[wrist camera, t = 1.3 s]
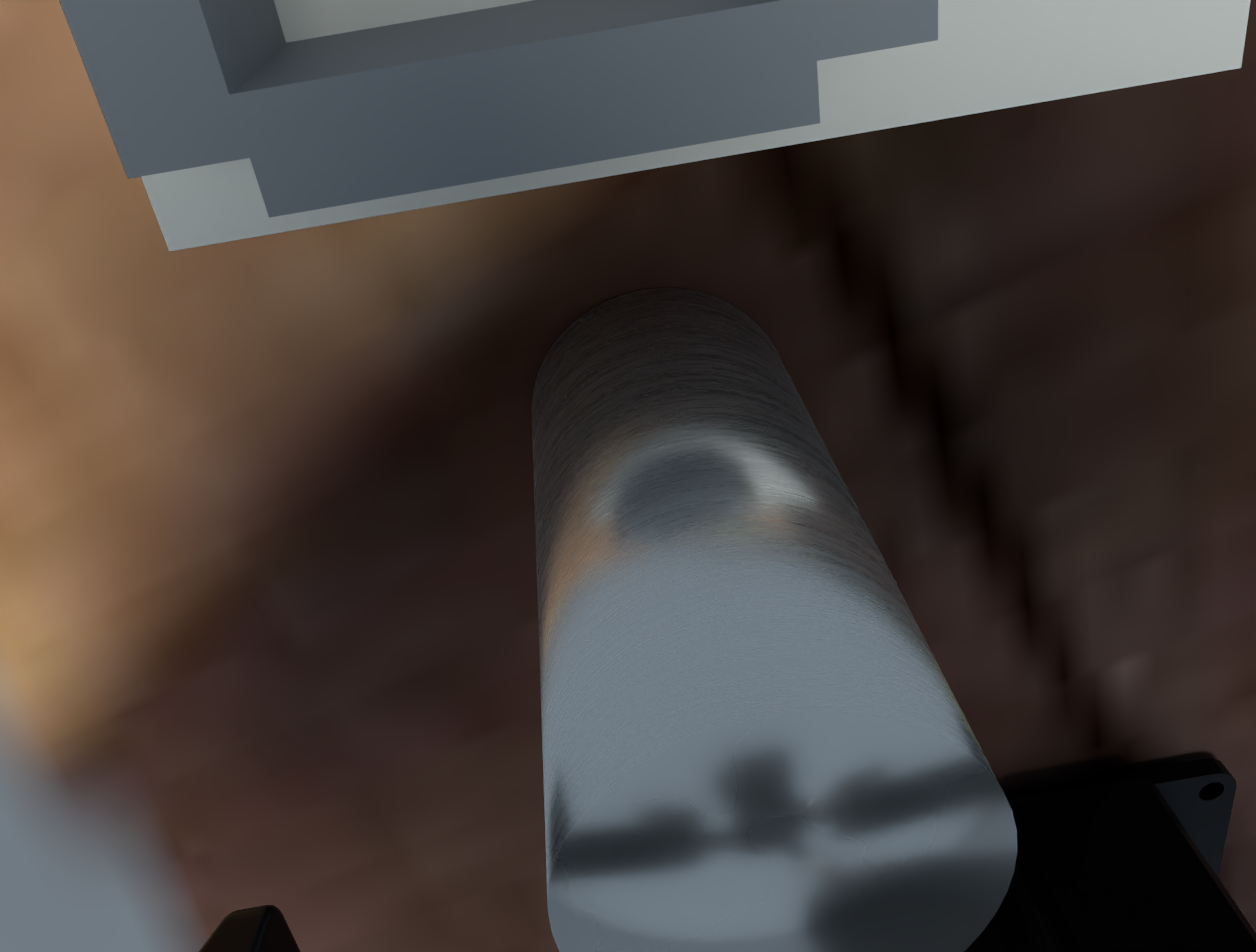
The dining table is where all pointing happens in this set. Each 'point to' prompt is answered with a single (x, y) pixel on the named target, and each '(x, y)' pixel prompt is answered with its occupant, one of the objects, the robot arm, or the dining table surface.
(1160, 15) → the fitting plate
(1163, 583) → the dining table surface
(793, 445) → the metal cylinder
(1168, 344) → the dining table surface
